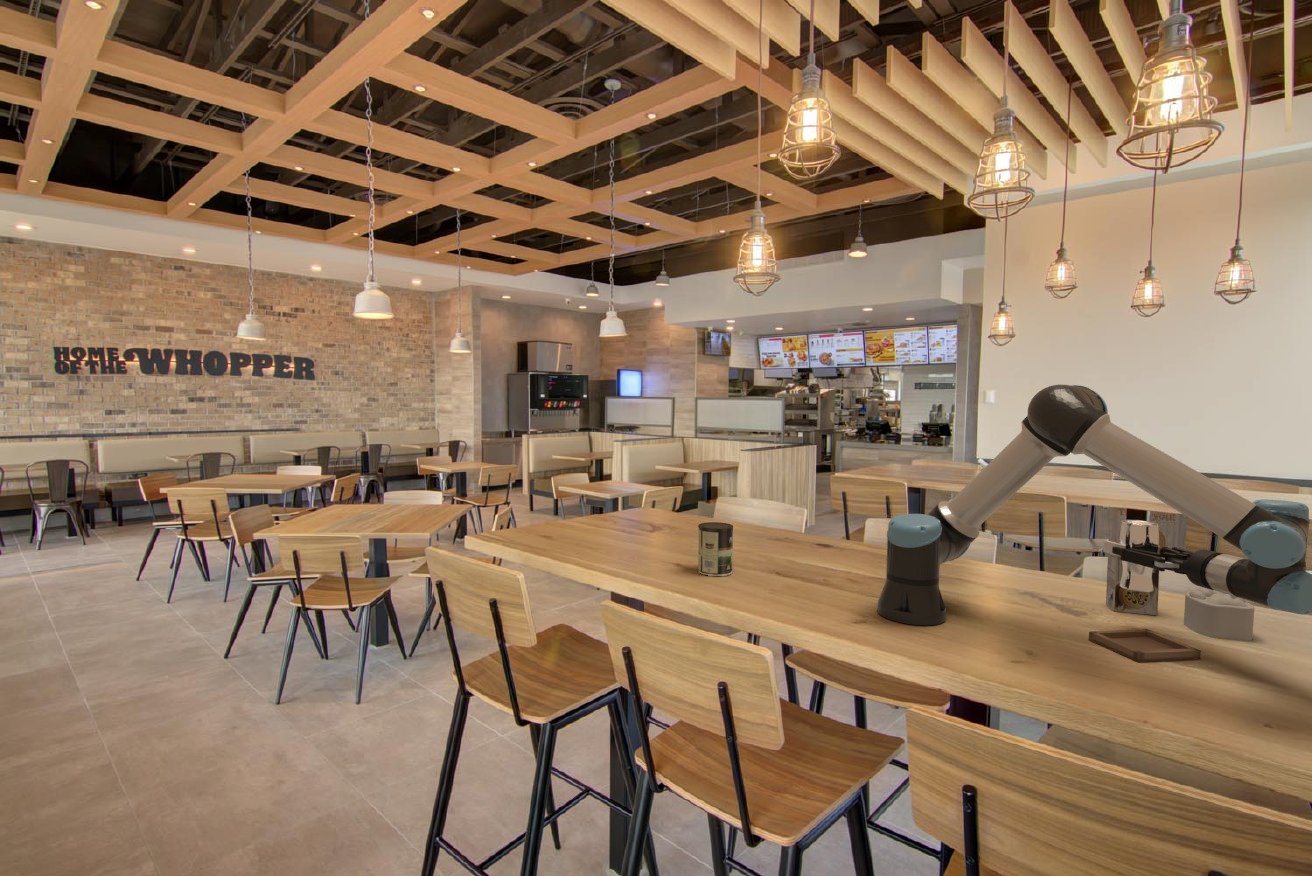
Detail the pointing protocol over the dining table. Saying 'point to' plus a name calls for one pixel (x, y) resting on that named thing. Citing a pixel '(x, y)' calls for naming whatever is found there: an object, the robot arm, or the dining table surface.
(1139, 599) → the coffee box
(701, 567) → the coffee can
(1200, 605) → the lumpy-topped squat cylinder
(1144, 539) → the beer glass
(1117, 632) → the tray
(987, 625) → the dining table surface
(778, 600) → the dining table surface
